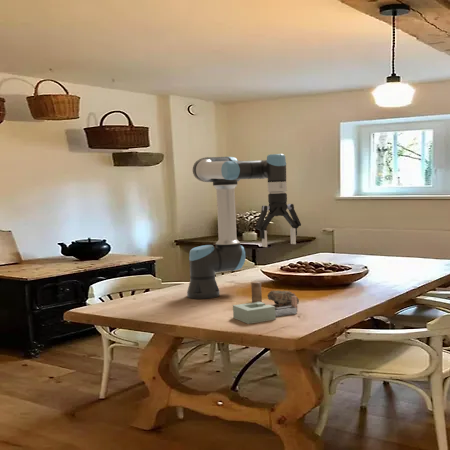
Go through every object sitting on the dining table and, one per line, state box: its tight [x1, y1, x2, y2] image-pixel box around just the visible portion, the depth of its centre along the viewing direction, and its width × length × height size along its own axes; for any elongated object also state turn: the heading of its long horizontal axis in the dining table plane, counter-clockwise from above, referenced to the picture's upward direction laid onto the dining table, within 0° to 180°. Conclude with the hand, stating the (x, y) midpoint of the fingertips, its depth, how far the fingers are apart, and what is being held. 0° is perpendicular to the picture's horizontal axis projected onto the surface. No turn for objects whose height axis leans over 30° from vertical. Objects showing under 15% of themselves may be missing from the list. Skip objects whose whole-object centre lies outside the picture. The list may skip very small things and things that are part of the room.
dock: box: [232, 302, 276, 325], centre depth 238 cm, size 12×12×5 cm
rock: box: [267, 290, 300, 307], centre depth 261 cm, size 7×11×10 cm
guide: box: [275, 306, 298, 318], centre depth 244 cm, size 5×12×2 cm, turn 117°
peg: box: [250, 281, 263, 303], centre depth 250 cm, size 4×4×12 cm
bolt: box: [275, 295, 298, 310], centre depth 245 cm, size 2×9×6 cm, turn 117°
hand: (279, 245), depth 248 cm, fingers open, 13 cm apart
